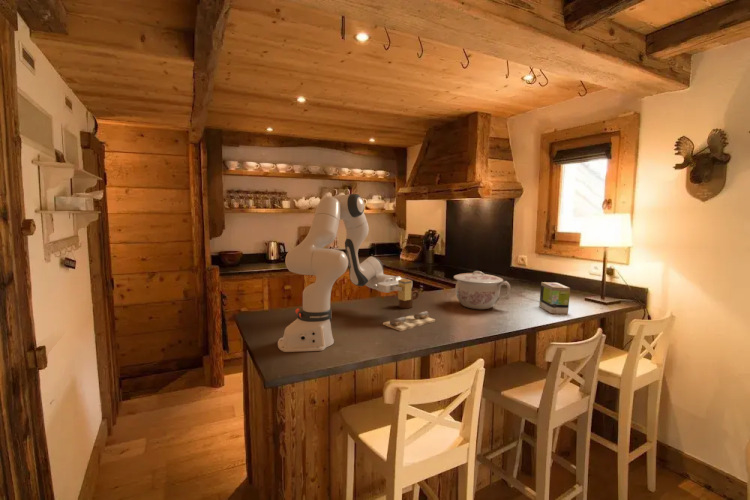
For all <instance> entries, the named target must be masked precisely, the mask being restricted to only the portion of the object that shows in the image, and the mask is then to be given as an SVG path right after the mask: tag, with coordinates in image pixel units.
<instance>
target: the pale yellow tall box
mask: <svg viewBox="0 0 750 500" xmlns="http://www.w3.org/2000/svg"><path fill="white" fill-rule="evenodd" d="M398 282H399V283H398V287H403V291H397V299H398V300H399V299H400V300H403V301H406V300H411V290H412V288H413V285H412V282H413V280H412V279H409V280H408V278H405V279H401V280H399V281H398Z"/></svg>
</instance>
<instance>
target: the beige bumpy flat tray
mask: <svg viewBox="0 0 750 500" xmlns="http://www.w3.org/2000/svg"><path fill="white" fill-rule="evenodd" d="M429 316H430V314H429V312H428V311H427V310H425V311H421V312H417V313H414V314H410V315H407V316H401V317H396V318H393V319H390V320H388V321H385V322H384V321H383V322H382V325H383V326H386V327H388V328H391V329H394V330H397V331H399V332H403V331H407V330H410V329H414V328H417V327H420V326H424V325H427V324H430V323H434V322H436V319H435V318H433V317H429Z"/></svg>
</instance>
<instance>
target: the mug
mask: <svg viewBox="0 0 750 500" xmlns="http://www.w3.org/2000/svg"><path fill="white" fill-rule="evenodd" d="M414 294H415V296H414ZM419 295H420V293H419V291H418V290H416V289H415V290H412V289H411V300H406V301H403V300H400V299H398V306H399V307H398V308H400V309H403V310H405V309H406V310H408V309H412V308H413V303H414V302H413V301H414V300H416V299H418V298H419Z"/></svg>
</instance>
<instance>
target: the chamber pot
mask: <svg viewBox="0 0 750 500" xmlns="http://www.w3.org/2000/svg"><path fill="white" fill-rule="evenodd" d="M453 279H454V280H456V281H457V282H456V284H455V295H456V298H457V299H458V301H459V303H460V305H462V306H463V307H465V308H468V309H470V310H480V311H481V310H486V309H491V308H493V307H494V306H495V305H496V304H497V303H498V302H500V301H501V300H502V299H504V298H506V297H507V296H509V294H510V293H511V290H512V289H511V284H510V283H509V282H508V280H504V279H503V278H502V277H500V276H496V275H492V274H489V273H488V274H487V273H484V271H483V272H482V271H480V270H474V271H473V272H466V273H465V272H464V273H459V274H455V275H453ZM504 285H505V286H506V287H507V290H506V293H504V294H503V295H502V296H500V292H501V289H502V286H504Z"/></svg>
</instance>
